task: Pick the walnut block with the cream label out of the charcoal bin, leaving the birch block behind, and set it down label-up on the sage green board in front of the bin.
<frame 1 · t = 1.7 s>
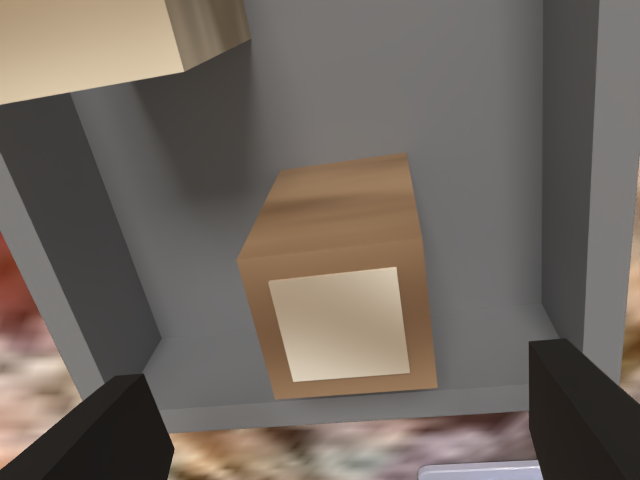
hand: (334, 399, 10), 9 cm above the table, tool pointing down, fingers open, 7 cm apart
walnut block: (351, 219, 17), point 1 cm above the table, touching bin
bin: (301, 98, 16), on the table
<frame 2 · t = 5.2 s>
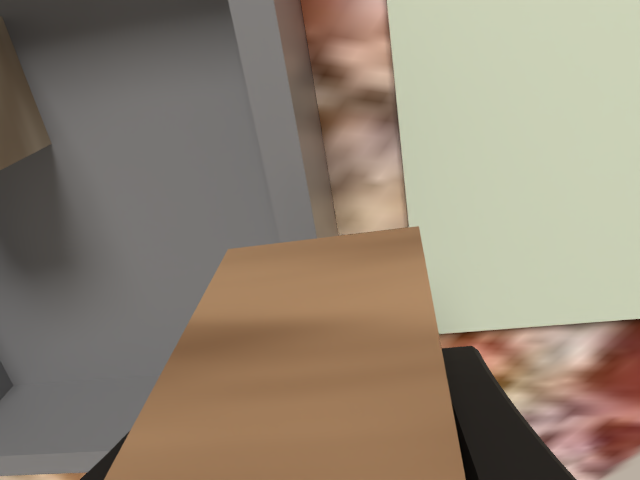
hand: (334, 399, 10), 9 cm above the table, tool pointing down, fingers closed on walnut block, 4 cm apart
walnut block: (336, 318, 12), point 7 cm above the table, touching gripper
board: (544, 132, 17), on the table
bin: (107, 189, 19), on the table
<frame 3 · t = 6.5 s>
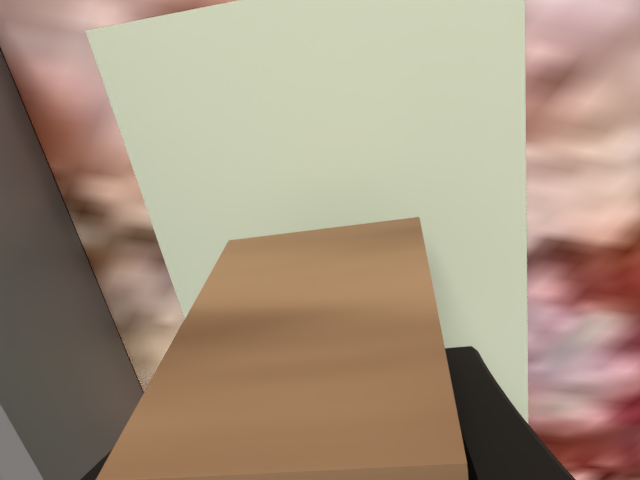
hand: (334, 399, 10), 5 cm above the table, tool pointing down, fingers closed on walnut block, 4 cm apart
walnut block: (336, 309, 12), point 2 cm above the table, touching gripper
board: (345, 275, 14), on the table
when the fingers open (4 cm above the table, at t = 7.5 s): walnut block stays where it is, resting on board.
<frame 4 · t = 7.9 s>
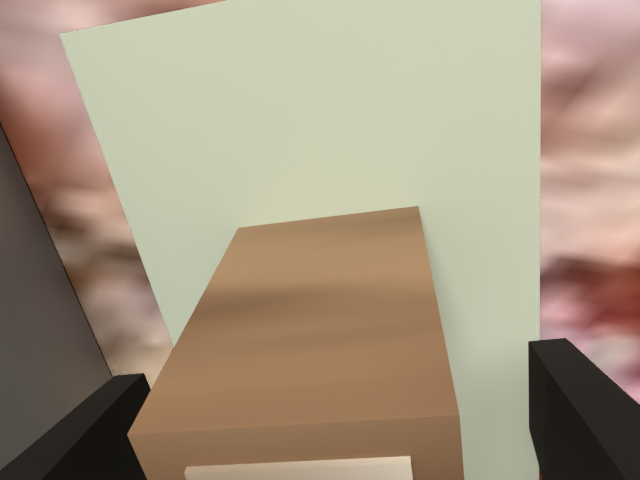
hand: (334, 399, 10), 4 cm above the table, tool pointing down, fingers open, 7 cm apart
walnut block: (339, 294, 12), point 1 cm above the table, touching board
board: (343, 295, 13), on the table
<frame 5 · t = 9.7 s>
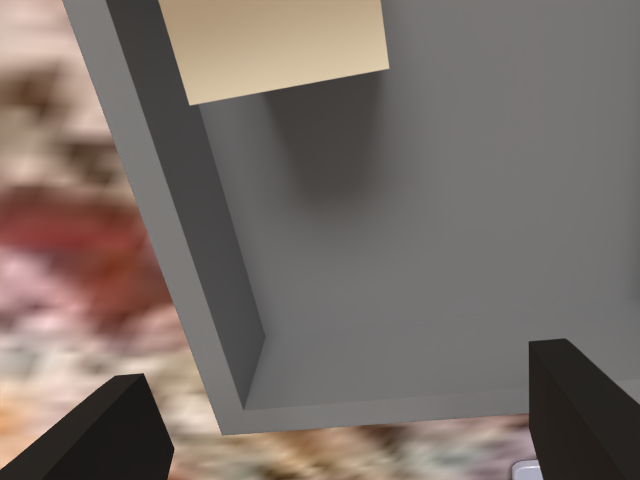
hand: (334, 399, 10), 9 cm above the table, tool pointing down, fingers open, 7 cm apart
bin: (424, 95, 16), on the table
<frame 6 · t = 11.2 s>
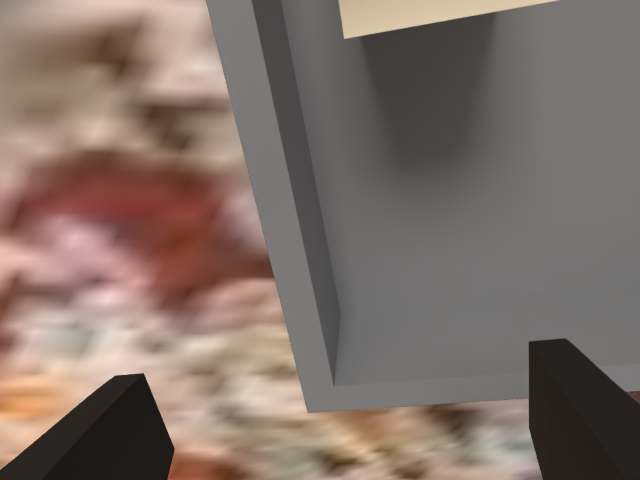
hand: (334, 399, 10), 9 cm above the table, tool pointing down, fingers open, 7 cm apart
bin: (532, 56, 16), on the table
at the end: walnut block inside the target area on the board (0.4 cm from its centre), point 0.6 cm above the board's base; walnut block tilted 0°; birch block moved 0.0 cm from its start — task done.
